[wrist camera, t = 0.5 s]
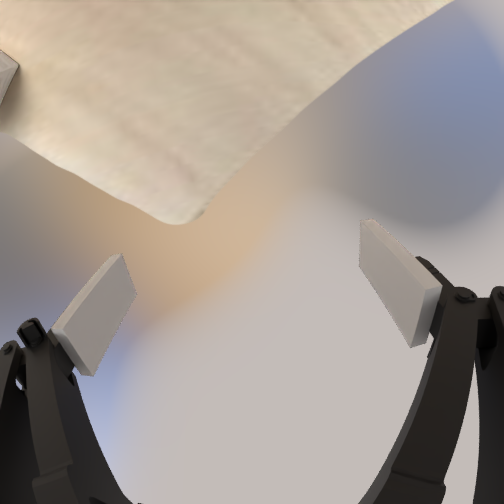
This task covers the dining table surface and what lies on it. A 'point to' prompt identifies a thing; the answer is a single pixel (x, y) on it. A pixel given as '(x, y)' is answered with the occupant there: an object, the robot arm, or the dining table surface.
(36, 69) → the dining table surface
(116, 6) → the dining table surface
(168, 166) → the dining table surface
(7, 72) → the supplement box
